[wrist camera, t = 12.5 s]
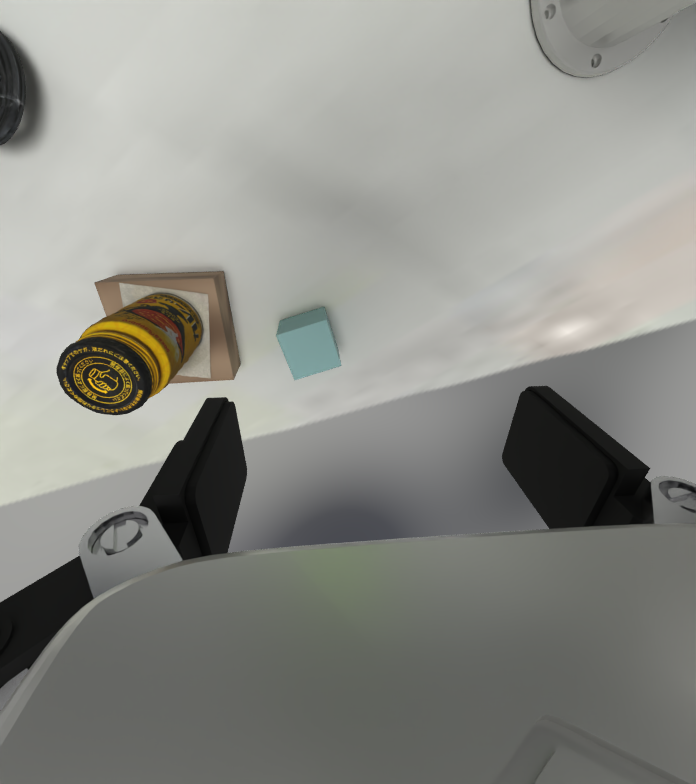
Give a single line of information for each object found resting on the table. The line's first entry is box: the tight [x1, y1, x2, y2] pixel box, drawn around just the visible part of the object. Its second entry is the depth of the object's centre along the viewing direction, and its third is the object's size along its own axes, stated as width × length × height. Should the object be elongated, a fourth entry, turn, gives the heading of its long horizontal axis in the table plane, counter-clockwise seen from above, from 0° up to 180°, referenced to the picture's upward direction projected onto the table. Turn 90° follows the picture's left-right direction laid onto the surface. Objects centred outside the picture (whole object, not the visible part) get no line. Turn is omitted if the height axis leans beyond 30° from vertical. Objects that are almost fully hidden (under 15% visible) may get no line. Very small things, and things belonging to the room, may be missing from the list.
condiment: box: [57, 283, 211, 415], centre depth 27 cm, size 7×8×12 cm
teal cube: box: [276, 307, 341, 380], centre depth 35 cm, size 5×5×5 cm
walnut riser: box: [95, 271, 241, 383], centre depth 34 cm, size 10×10×4 cm
